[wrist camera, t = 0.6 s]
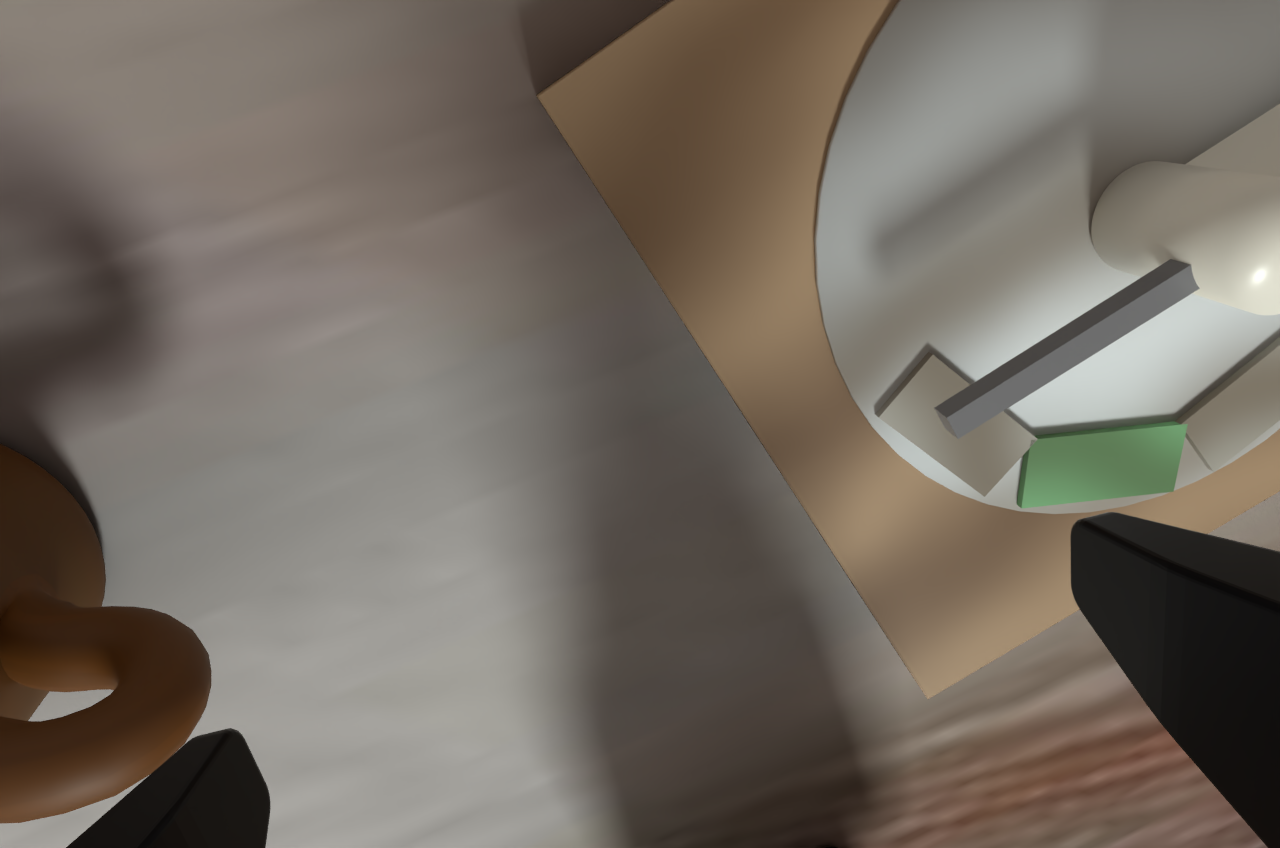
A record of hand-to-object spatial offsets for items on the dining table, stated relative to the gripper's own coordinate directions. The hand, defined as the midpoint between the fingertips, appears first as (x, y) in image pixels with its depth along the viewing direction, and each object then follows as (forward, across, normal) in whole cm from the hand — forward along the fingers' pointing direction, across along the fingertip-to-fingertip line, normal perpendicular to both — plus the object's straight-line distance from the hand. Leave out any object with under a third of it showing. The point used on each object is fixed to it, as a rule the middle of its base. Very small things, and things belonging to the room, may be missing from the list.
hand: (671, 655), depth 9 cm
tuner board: (+14, -14, 0) cm, 19 cm away
